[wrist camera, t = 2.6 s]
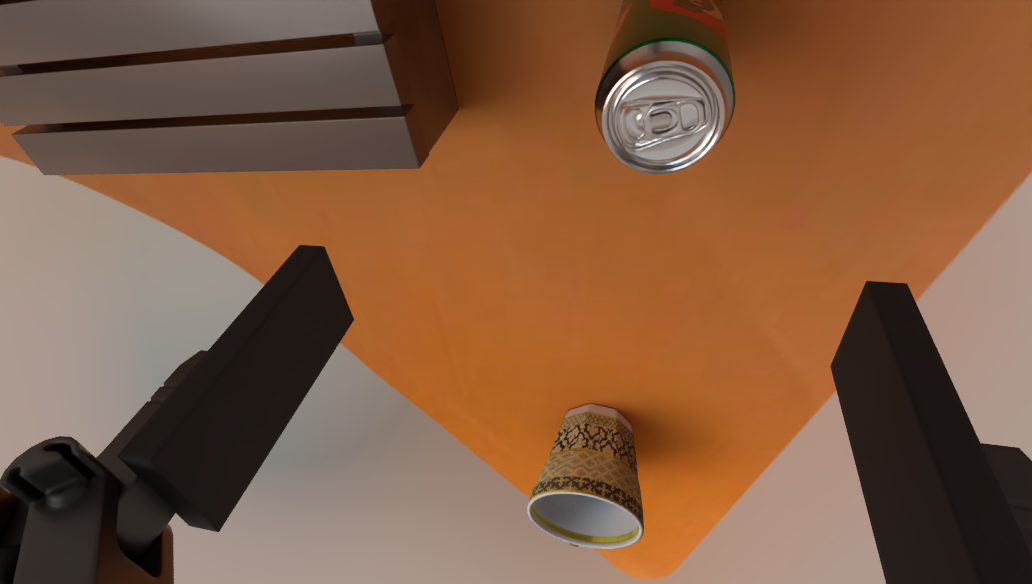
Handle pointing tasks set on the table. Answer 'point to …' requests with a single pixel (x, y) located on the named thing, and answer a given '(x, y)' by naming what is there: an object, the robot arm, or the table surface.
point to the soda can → (666, 84)
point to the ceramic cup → (590, 482)
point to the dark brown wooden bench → (223, 84)
